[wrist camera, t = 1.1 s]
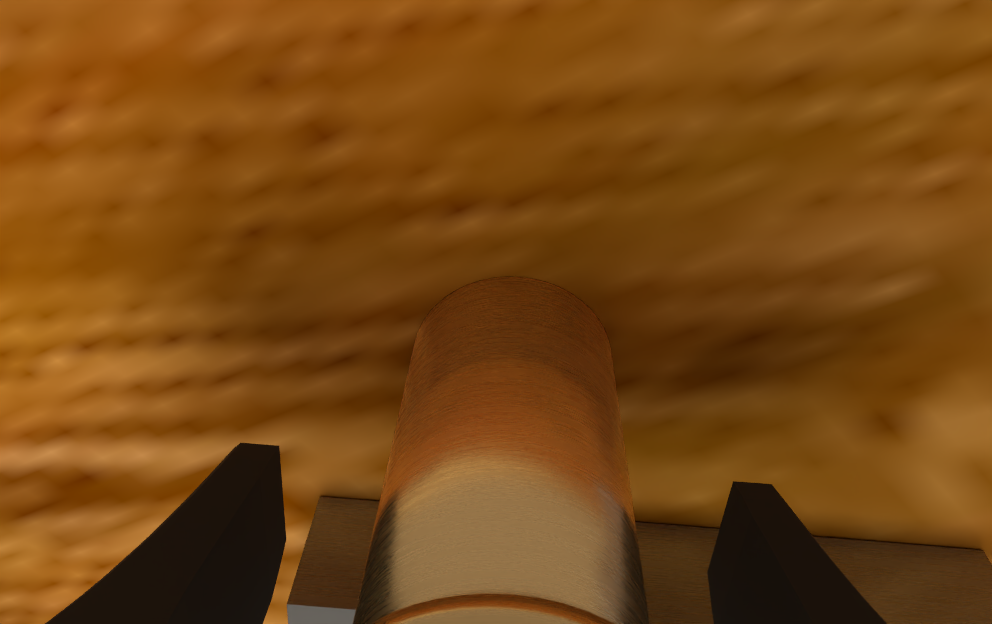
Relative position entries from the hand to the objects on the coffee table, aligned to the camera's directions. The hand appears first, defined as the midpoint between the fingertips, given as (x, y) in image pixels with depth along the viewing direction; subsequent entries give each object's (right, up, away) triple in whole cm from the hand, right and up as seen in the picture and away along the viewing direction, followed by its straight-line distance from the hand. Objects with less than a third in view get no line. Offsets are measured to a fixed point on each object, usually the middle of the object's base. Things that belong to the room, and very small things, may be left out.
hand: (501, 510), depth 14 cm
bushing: (0, +2, +4) cm, 4 cm away
